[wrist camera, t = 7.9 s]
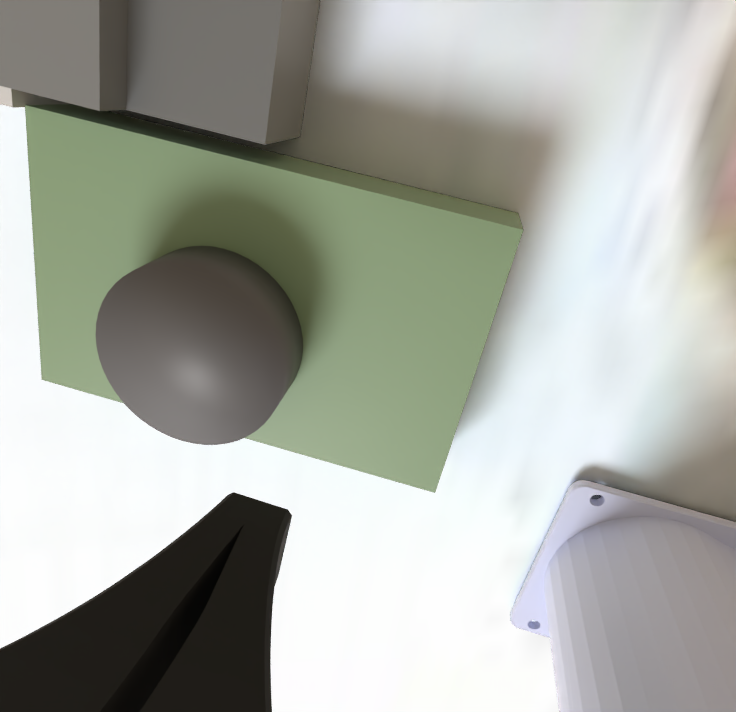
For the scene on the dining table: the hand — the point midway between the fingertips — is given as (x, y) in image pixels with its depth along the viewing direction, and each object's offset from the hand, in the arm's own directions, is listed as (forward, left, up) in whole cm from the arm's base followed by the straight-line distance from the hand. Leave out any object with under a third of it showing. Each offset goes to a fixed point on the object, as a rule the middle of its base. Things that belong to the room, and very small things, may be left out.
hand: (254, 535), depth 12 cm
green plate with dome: (+4, -5, -10) cm, 12 cm away
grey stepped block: (+7, -9, -10) cm, 15 cm away
